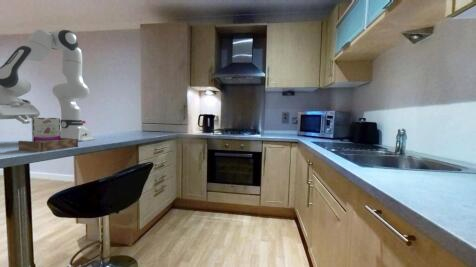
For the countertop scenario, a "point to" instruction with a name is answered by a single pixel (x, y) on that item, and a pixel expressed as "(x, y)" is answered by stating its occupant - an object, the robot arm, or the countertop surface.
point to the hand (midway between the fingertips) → (27, 122)
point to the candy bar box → (45, 129)
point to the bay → (48, 145)
